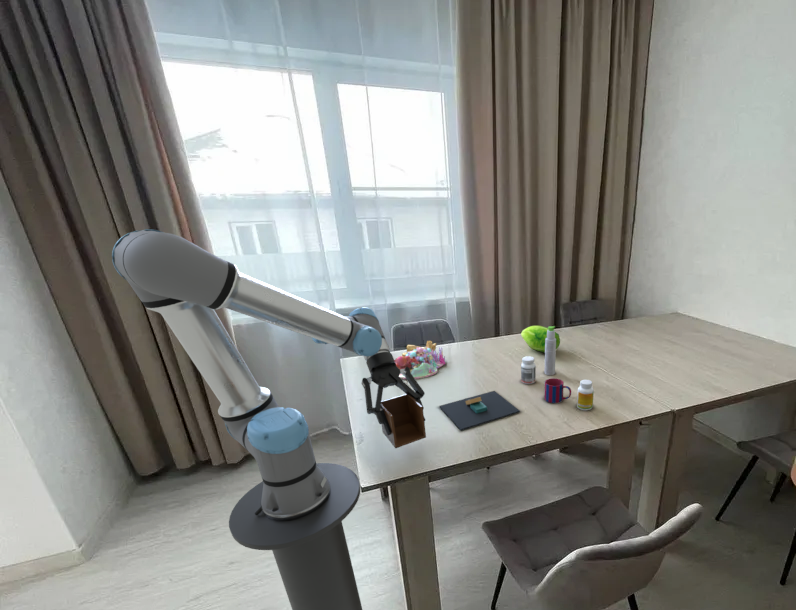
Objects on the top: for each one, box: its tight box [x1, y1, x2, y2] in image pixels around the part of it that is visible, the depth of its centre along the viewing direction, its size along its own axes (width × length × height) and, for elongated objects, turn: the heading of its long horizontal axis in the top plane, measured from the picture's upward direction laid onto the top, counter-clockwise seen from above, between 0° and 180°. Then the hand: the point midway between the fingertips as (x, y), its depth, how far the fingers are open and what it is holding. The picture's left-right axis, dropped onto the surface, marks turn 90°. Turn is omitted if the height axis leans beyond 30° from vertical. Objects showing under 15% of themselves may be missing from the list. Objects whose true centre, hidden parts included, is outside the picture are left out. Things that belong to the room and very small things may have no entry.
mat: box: [438, 390, 521, 432], centre depth 137 cm, size 22×18×1 cm
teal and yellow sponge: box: [470, 401, 487, 413], centre depth 137 cm, size 5×4×1 cm
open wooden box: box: [380, 393, 427, 449], centre depth 112 cm, size 10×9×10 cm
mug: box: [543, 377, 572, 404], centre depth 142 cm, size 7×10×7 cm
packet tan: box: [465, 397, 482, 405], centre depth 138 cm, size 5×4×1 cm
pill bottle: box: [520, 355, 537, 385], centre depth 156 cm, size 6×6×10 cm
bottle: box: [544, 325, 557, 376], centre depth 161 cm, size 4×4×20 cm
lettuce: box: [520, 325, 561, 353], centre depth 188 cm, size 13×23×12 cm, turn 41°
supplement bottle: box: [576, 379, 595, 411], centre depth 137 cm, size 5×5×10 cm
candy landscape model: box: [394, 340, 446, 380], centre depth 171 cm, size 25×24×9 cm
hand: (406, 427), depth 110 cm, fingers closed on open wooden box, 9 cm apart
